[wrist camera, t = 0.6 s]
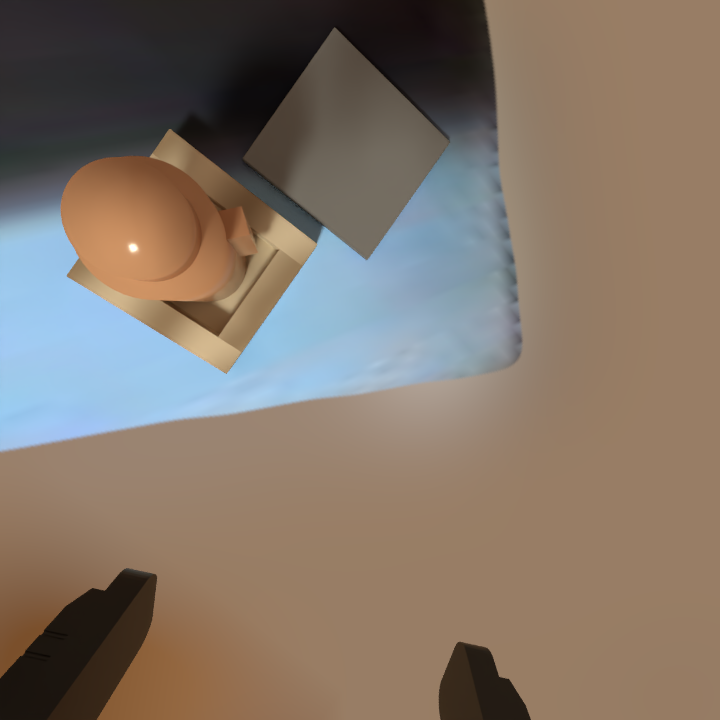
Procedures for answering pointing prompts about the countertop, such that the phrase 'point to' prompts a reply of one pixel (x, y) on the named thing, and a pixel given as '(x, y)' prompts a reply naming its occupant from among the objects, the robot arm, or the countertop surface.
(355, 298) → the countertop surface
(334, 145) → the mat
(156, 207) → the peach capped cylinder
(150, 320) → the holder
